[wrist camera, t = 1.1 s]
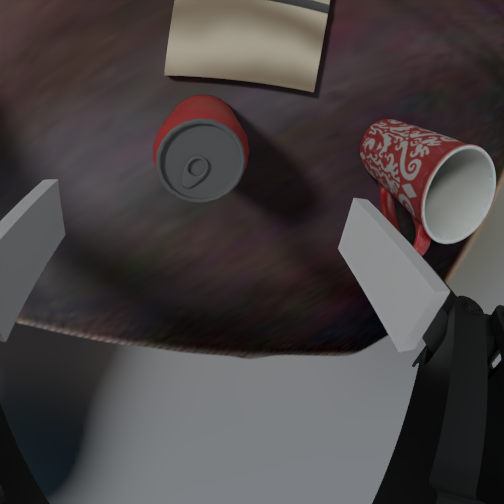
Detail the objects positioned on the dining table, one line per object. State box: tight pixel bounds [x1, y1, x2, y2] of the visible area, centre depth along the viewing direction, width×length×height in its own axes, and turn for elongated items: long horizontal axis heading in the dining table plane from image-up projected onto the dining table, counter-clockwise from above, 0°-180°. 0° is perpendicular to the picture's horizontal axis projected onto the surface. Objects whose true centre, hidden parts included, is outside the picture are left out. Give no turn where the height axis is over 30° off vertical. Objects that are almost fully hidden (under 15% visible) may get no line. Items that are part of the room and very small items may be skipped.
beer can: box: [153, 95, 249, 203], centre depth 23 cm, size 7×7×12 cm
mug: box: [360, 119, 496, 256], centre depth 27 cm, size 13×9×14 cm
